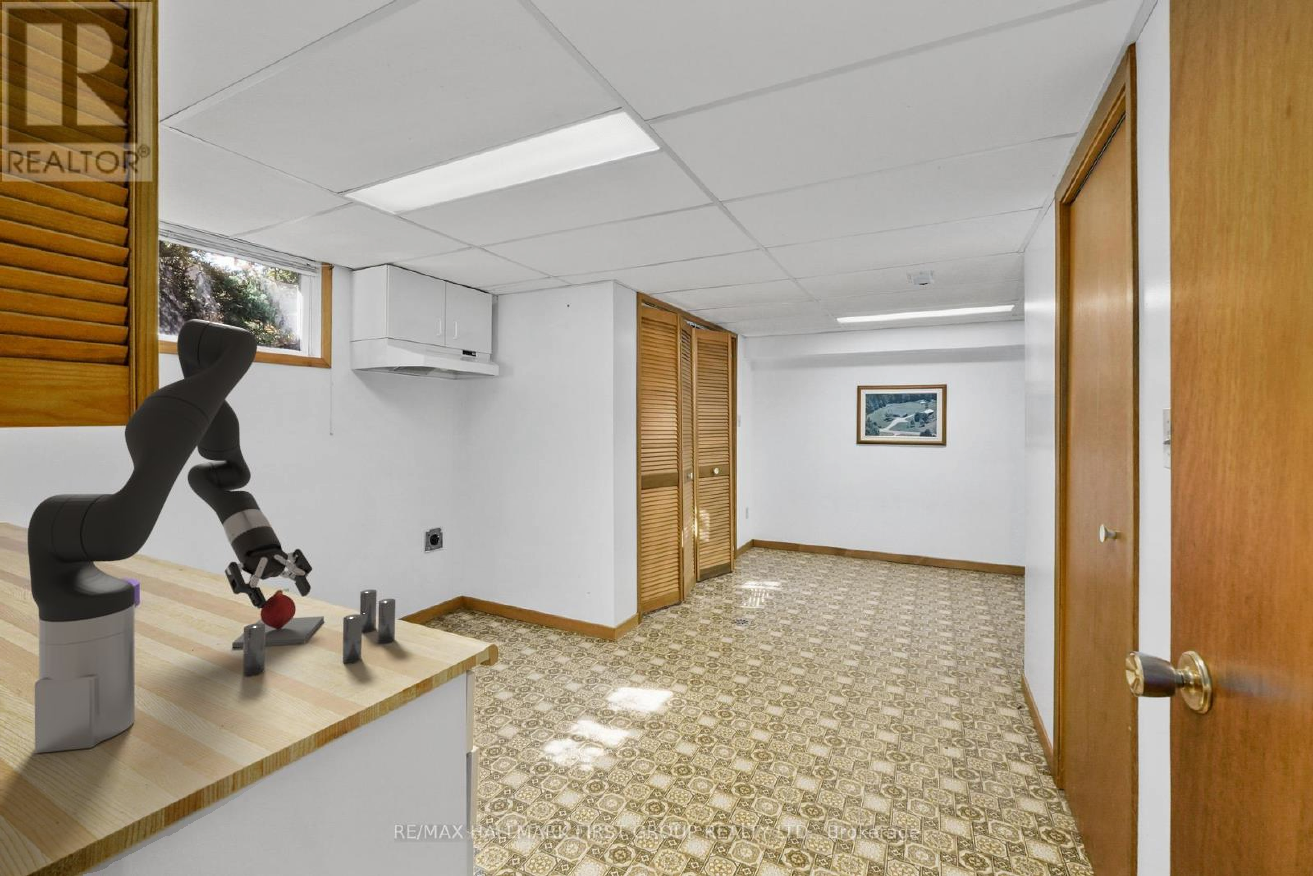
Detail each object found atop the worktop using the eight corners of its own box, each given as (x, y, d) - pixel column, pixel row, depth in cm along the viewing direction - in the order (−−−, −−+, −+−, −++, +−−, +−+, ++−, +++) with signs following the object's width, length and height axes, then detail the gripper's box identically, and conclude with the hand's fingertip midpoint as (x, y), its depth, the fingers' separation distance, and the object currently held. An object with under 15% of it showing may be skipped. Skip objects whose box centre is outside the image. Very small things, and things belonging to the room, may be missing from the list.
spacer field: (381, 666, 99) (382, 622, 99) (239, 676, 93) (240, 630, 93) (401, 624, 118) (402, 588, 118) (284, 631, 112) (285, 593, 112)
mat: (304, 643, 107) (304, 638, 107) (232, 648, 104) (232, 642, 104) (323, 620, 119) (323, 616, 119) (259, 624, 116) (259, 619, 116)
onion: (278, 637, 108) (277, 597, 107) (253, 633, 109) (252, 594, 108) (302, 624, 114) (302, 587, 113) (278, 621, 115) (278, 584, 114)
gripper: (220, 531, 107) (255, 599, 103) (294, 519, 120) (328, 580, 116) (204, 554, 110) (238, 621, 105) (279, 540, 123) (311, 600, 118)
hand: (285, 599), depth 111 cm, fingers open, 8 cm apart
